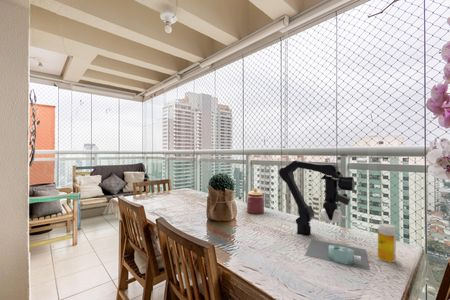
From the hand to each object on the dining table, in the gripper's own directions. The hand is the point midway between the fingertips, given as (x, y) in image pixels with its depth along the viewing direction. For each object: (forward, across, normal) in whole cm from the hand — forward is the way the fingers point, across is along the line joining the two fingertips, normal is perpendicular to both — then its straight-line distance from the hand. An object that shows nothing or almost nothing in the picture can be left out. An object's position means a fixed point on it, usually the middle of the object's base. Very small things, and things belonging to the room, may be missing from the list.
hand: (331, 218), depth 113 cm
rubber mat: (+12, -14, -3) cm, 18 cm away
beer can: (+12, -10, -22) cm, 27 cm away
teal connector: (+11, -21, -6) cm, 24 cm away
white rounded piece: (+1, 0, -1) cm, 2 cm away
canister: (+12, +30, +53) cm, 62 cm away
